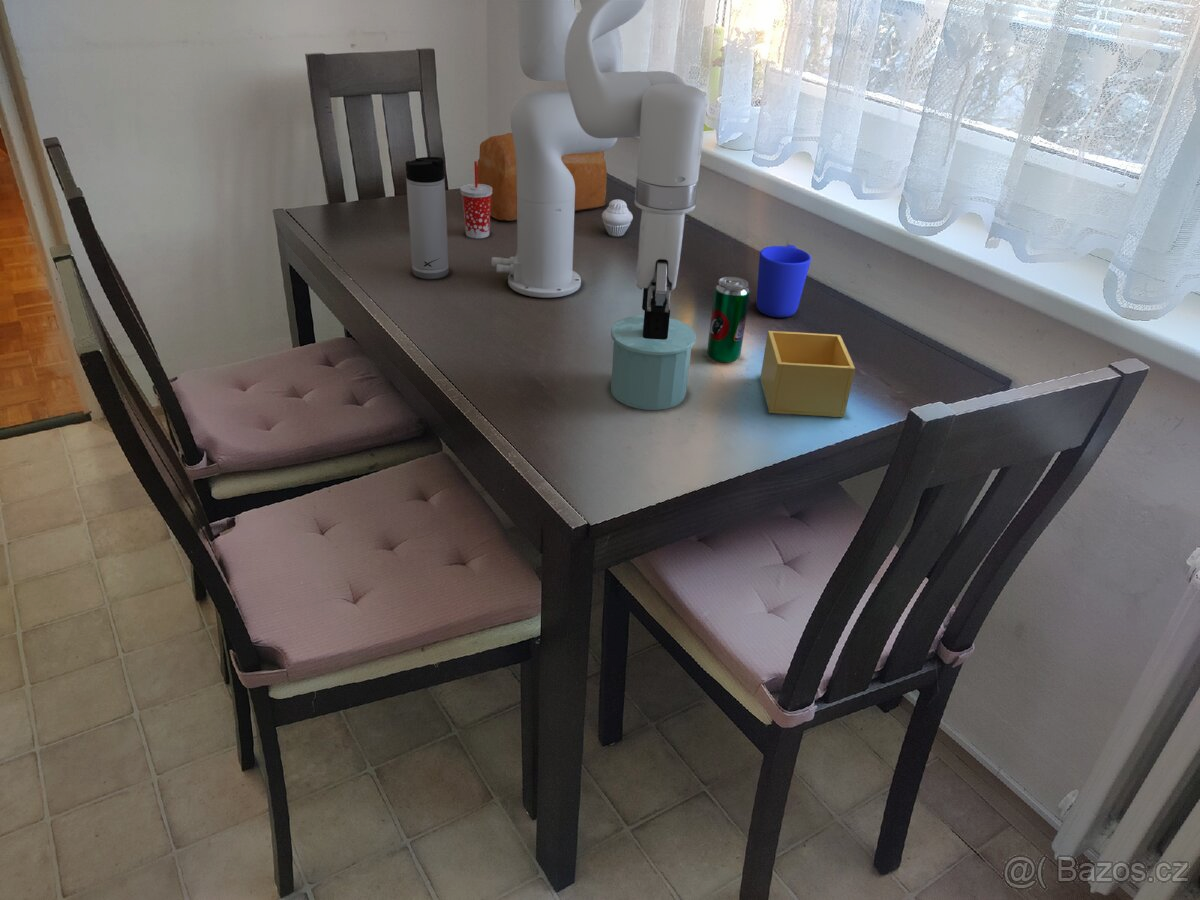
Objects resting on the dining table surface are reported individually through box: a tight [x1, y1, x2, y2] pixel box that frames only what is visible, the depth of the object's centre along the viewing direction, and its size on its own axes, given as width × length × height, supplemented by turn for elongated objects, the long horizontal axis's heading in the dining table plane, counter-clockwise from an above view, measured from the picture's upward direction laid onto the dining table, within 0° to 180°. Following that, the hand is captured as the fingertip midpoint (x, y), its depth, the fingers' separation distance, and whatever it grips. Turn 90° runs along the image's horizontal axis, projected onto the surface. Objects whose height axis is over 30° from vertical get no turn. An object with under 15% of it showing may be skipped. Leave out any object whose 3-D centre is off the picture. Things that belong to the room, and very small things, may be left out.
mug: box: [755, 244, 812, 319], centre depth 149 cm, size 8×12×10 cm
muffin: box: [601, 198, 634, 237], centre depth 176 cm, size 6×6×7 cm
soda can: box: [706, 276, 751, 364], centre depth 131 cm, size 5×5×12 cm
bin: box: [759, 330, 856, 418], centre depth 123 cm, size 10×10×8 cm
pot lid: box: [610, 314, 697, 355], centre depth 119 cm, size 11×11×6 cm
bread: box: [477, 132, 608, 222], centre depth 186 cm, size 14×26×16 cm, turn 122°
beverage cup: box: [459, 160, 493, 239], centre depth 170 cm, size 6×6×14 cm
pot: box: [610, 340, 692, 411], centre depth 122 cm, size 10×10×8 cm
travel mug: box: [405, 156, 450, 280], centre depth 151 cm, size 6×7×20 cm
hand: (654, 323), depth 119 cm, fingers open, 8 cm apart
